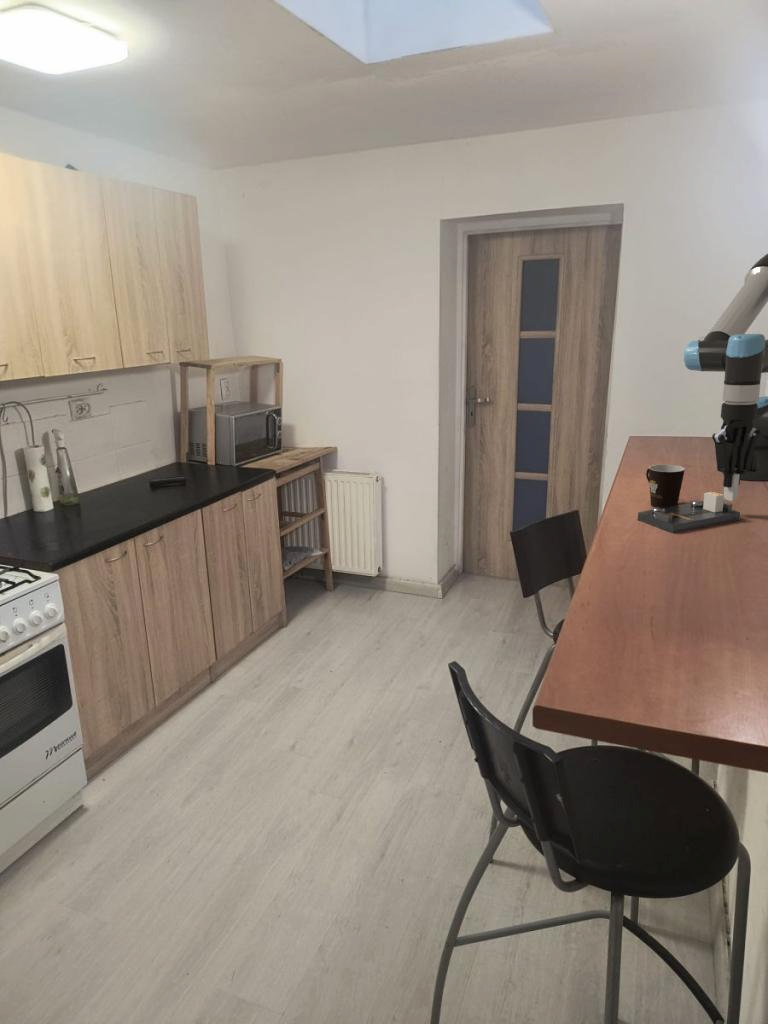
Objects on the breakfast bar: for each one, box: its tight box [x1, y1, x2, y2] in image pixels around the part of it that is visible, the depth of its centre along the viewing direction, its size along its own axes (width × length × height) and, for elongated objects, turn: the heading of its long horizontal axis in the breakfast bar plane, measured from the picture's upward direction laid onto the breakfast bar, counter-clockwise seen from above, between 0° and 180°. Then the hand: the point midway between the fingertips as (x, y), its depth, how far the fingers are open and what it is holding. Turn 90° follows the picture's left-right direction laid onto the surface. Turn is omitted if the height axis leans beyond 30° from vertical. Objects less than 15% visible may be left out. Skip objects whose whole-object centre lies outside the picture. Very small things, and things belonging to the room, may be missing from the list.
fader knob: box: [703, 491, 725, 512], centre depth 161 cm, size 2×4×4 cm, turn 21°
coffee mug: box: [645, 463, 686, 508], centre depth 174 cm, size 12×9×10 cm
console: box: [637, 499, 741, 534], centre depth 161 cm, size 20×12×4 cm, turn 110°
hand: (729, 499), depth 162 cm, fingers closed
